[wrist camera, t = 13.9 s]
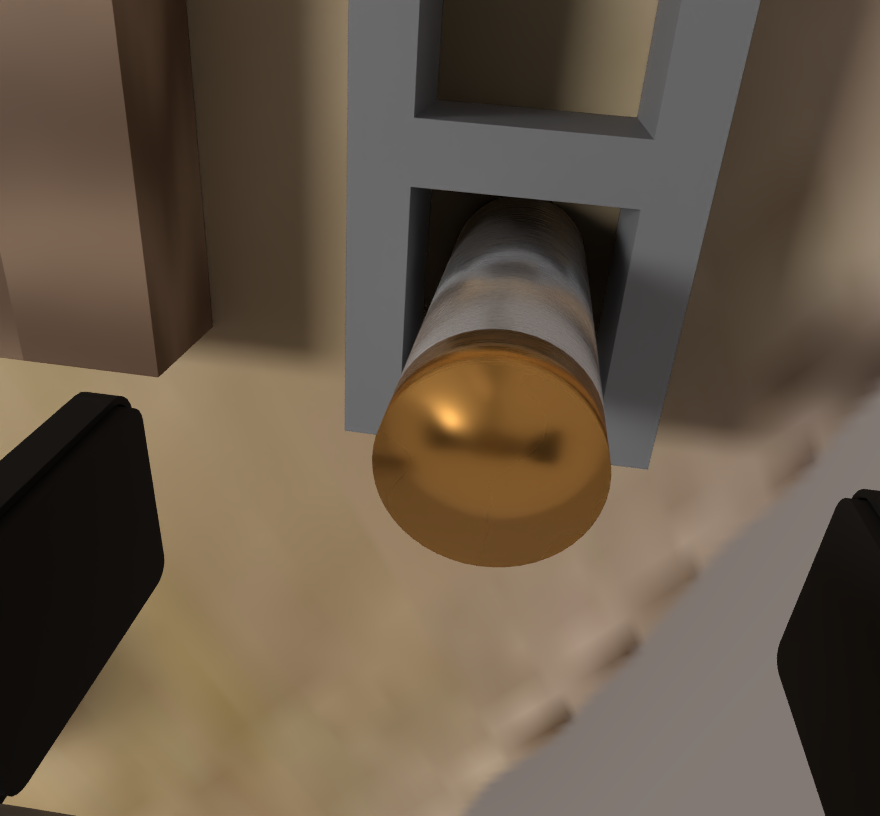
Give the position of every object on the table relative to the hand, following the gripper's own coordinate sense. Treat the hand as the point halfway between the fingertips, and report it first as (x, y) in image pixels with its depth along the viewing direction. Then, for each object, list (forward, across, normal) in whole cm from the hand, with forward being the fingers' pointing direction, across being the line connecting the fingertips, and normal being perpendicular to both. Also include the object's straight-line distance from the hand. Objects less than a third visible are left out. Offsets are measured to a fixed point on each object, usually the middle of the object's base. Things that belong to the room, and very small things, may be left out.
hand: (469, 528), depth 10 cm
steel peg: (+14, 0, +1) cm, 14 cm away
